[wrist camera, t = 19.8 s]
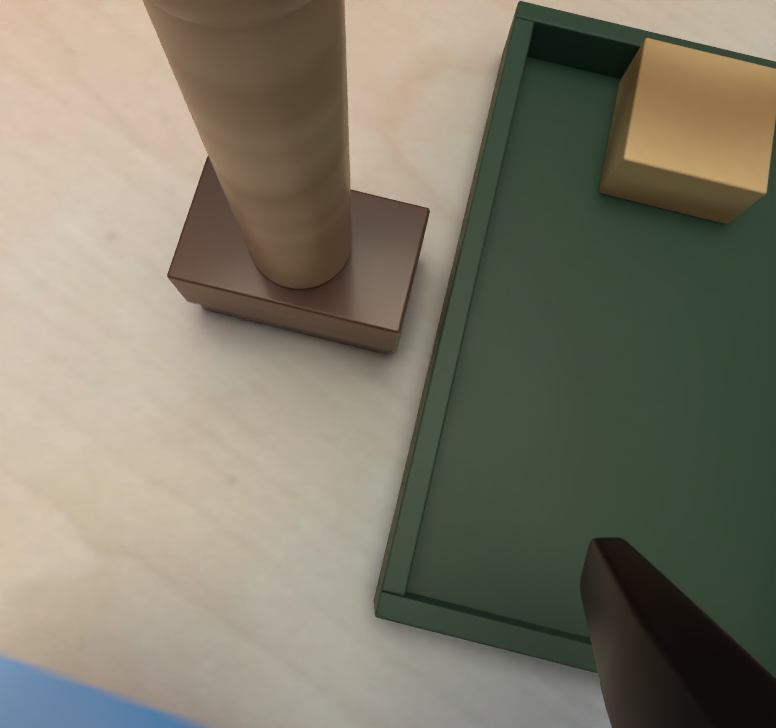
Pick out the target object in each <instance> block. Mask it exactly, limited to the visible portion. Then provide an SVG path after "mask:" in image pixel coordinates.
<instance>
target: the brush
mask: <svg viewBox="0 0 776 728" xmlns="http://www.w3.org/2000/svg"><path fill="white" fill-rule="evenodd" d="M143 2H144V5H145V7H146V9H147V12H148V14H149V16H150V19H151V21H152V24H153V26H154V28H155V31H156V33H157V35H158V38H159V40H160V42H161V45H162V47H163V49H164V52H165V54H166V57H167V59H168V61H169V64H170V66H171V68H172V71H173V73H174V75H175V78H176V80H177V82H178V85H179V87H180V90H181V92H182V94H183V97H184V99H185V101H186V104H187V106H188V108H189V111H190V113H191V115H192V118H193V120H194V123H195V125H196V127H197V130H198V132H199V134H200V137H201V139H202V141H203V144H204V146H205V148H206V151H207V153H208V157H207V159H206V162H205V165H204V168H203V171H202V174H201V177H200V180H199V183H198V186H197V189H196V192H195V195H194V198H193V201H192V203H191V206H190V209H189V212H188V215H187V218H186V221H185V224H184V227H183V230H182V233H181V236H180V239H179V242H178V245H177V248H176V251H175V254H174V257H173V259H172V262H171V265H170V268H169V271H168V274H167V277H168V278H169V280H170V281H171V282H172V283H173V284H174V286H175V287H176V288H177V289H178V291H179V292H180V293H181V294H182V296H183V297H184V298H185V299H186V300H187V301H188V302H192V303H196V304H200V305H201V306H202V307H203V309H205V310H209V311H213V312H217V313H221V314H225V315H230V316H234V317H238V318H242V319H246V320H250V321H254V322H258V323H262V324H266V325H270V326H275V327H279V328H283V329H287V330H291V331H295V332H299V333H303V334H307V335H311V336H315V337H320V338H324V339H328V340H332V341H336V342H340V343H344V344H348V345H352V346H356V347H360V348H365V349H369V350H373V351H377V352H381V353H385V354H388V353H389V351H392V352H395V351H396V349H397V345H398V341H399V337H400V332H401V328H402V324H403V320H404V316H405V312H406V308H407V304H408V300H409V296H410V292H411V288H412V284H413V280H414V276H415V272H416V268H417V263H418V259H419V255H420V251H421V247H422V243H423V239H424V235H425V230H426V226H427V221H428V217H429V213H430V210H429V209H428V208H425V207H421V206H417V205H413V204H408V203H404V202H400V201H396V200H392V199H388V198H383V197H379V196H375V195H371V194H367V193H363V192H359V191H354V190H350V160H349V129H348V98H347V66H346V35H345V3H344V0H143Z"/></svg>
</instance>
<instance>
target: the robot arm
mask: <svg viewBox="0 0 776 728" xmlns="http://www.w3.org/2000/svg"><path fill="white" fill-rule="evenodd" d="M580 592H581V598H582V603H583V607H584V612H585V616H586V621H587V626H588V630H589V635H590V639H591V644H592V649H593V653H594V658H595V662H596V667H597V671H598V676H599V681H600V685H601V690H602V694H603V698H604V702H605V706H606V710H607V713H608V716H609V720H610V723H611V726H612V728H776V677H775V676H774V675H773V674H772V673H771V672H770V671H769V670H768V669H767V668H766V667H764V666H763V665H762V664H761V663H760V662H759V661H758V660H757V659H756V658H755V657H753V656H752V655H751V654H750V653H749V652H748V651H747V650H746V649H745V648H744V647H742V646H741V645H740V644H739V643H738V642H737V641H736V640H735V639H734V638H733V637H731V636H730V635H729V634H728V633H727V632H726V631H725V630H724V629H723V628H722V627H721V626H719V625H718V624H717V623H716V622H715V621H714V620H713V619H712V618H711V617H710V616H708V615H707V614H706V613H705V612H704V611H703V610H702V609H701V608H700V607H699V606H697V605H696V604H695V603H694V602H693V601H692V600H691V599H690V598H689V597H688V596H687V595H685V594H684V593H683V592H682V591H681V590H680V589H679V588H678V587H677V586H676V585H674V584H673V583H672V582H671V581H670V580H669V579H668V578H667V577H666V576H665V575H663V574H662V573H661V572H660V571H659V570H658V569H657V568H656V567H655V566H654V565H652V564H651V563H650V562H649V561H648V560H647V559H646V558H645V557H644V556H643V555H642V554H640V553H639V552H638V551H637V550H636V549H635V548H634V547H633V546H632V545H631V544H629V543H628V542H627V541H626V540H624V539H622V538H620V537H602V538H594V539H592V540H591V541H590V543H589V546H588V550H587V554H586V558H585V562H584V566H583V570H582V574H581V578H580Z"/></svg>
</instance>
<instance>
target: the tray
mask: <svg viewBox="0 0 776 728" xmlns="http://www.w3.org/2000/svg"><path fill="white" fill-rule="evenodd" d="M646 38H650V39H654V40H658V41H662V42H667V43H671V44H675V45H679V46H683V47H687V48H691V49H696V50H700V51H704V52H708V53H712V54H716V55H720V56H725V57H729V58H733V59H737V60H741V61H745V62H749V63H754V64H758V65H762V66H766V67H770V68H774V69H776V62H775V61H770V60H766V59H762V58H758V57H754V56H749V55H745V54H741V53H737V52H733V51H728V50H724V49H720V48H716V47H712V46H707V45H703V44H699V43H695V42H691V41H686V40H682V39H678V38H674V37H670V36H665V35H661V34H657V33H653V32H649V31H644V30H640V29H636V28H632V27H628V26H623V25H619V24H615V23H611V22H607V21H602V20H598V19H594V18H590V17H586V16H581V15H577V14H573V13H569V12H565V11H560V10H556V9H552V8H548V7H544V6H539V5H535V4H531V3H527V2H523V1H519V2H518V5H517V8H516V12H515V15H514V18H513V21H512V25H511V28H510V31H509V34H508V38H507V41H506V44H505V48H504V51H503V54H502V58H501V63H500V67H499V71H498V75H497V80H496V84H495V88H494V92H493V97H492V101H491V105H490V109H489V114H488V118H487V122H486V126H485V131H484V135H483V139H482V143H481V148H480V152H479V156H478V160H477V165H476V169H475V173H474V177H473V182H472V186H471V190H470V194H469V199H468V203H467V207H466V211H465V216H464V220H463V224H462V228H461V233H460V237H459V241H458V245H457V249H456V254H455V258H454V262H453V266H452V271H451V275H450V279H449V283H448V288H447V292H446V296H445V300H444V305H443V309H442V313H441V317H440V322H439V326H438V330H437V334H436V339H435V343H434V347H433V351H432V356H431V360H430V364H429V368H428V373H427V377H426V381H425V385H424V390H423V394H422V398H421V402H420V407H419V411H418V415H417V419H416V424H415V428H414V432H413V436H412V440H411V445H410V449H409V453H408V457H407V462H406V466H405V470H404V474H403V479H402V483H401V487H400V491H399V496H398V500H397V504H396V508H395V513H394V517H393V521H392V525H391V530H390V534H389V538H388V542H387V547H386V551H385V555H384V559H383V564H382V568H381V572H380V576H379V581H378V585H377V589H376V593H375V598H374V611H375V616H376V617H377V618H381V619H385V620H389V621H393V622H397V623H401V624H405V625H409V626H413V627H417V628H421V629H425V630H429V631H433V632H437V633H441V634H445V635H449V636H453V637H457V638H460V639H464V640H468V641H472V642H476V643H480V644H484V645H488V646H492V647H496V648H500V649H504V650H508V651H512V652H516V653H520V654H524V655H528V656H532V657H536V658H540V659H543V660H547V661H551V662H555V663H559V664H563V665H567V666H571V667H575V668H579V669H583V670H587V671H591V672H595V673H598V671H597V667H596V662H595V658H594V653H593V649H592V644H591V639H590V635H589V630H588V626H587V621H586V616H585V612H584V607H583V603H582V598H581V592H580V578H581V574H582V570H583V566H584V562H585V558H586V554H587V550H588V546H589V543H590V541H591V540H592V539H594V538H602V537H620V538H622V539H624V540H626V541H627V542H628V543H629V544H631V545H632V546H633V547H634V548H635V549H636V550H637V551H638V552H639V553H640V554H642V555H643V556H644V557H645V558H646V559H647V560H648V561H649V562H650V563H651V564H652V565H654V566H655V567H656V568H657V569H658V570H659V571H660V572H661V573H662V574H663V575H665V576H666V577H667V578H668V579H669V580H670V581H671V582H672V583H673V584H674V585H676V586H677V587H678V588H679V589H680V590H681V591H682V592H683V593H684V594H685V595H687V596H688V597H689V598H690V599H691V600H692V601H693V602H694V603H695V604H696V605H697V606H699V607H700V608H701V609H702V610H703V611H704V612H705V613H706V614H707V615H708V616H710V617H711V618H712V619H713V620H714V621H715V622H716V623H717V624H718V625H719V626H721V627H722V628H723V629H724V630H725V631H726V632H727V633H728V634H729V635H730V636H731V637H733V638H734V639H735V640H736V641H737V642H738V643H739V644H740V645H741V646H742V647H744V648H745V649H746V650H747V651H748V652H749V653H750V654H751V655H752V656H753V657H755V658H756V659H757V660H758V661H759V662H760V663H761V664H762V665H763V666H764V667H766V668H767V669H768V670H769V671H770V672H771V673H772V674H773V675H774V676H775V677H776V121H775V129H774V137H773V145H772V153H771V161H770V169H769V177H768V185H767V192H766V194H765V195H764V196H763V197H761V198H760V199H759V200H757V201H756V202H755V203H754V204H752V205H751V206H750V207H749V208H747V209H746V210H745V211H744V212H742V213H741V214H740V215H739V216H737V217H736V218H735V219H734V220H732V221H731V222H730V223H728V224H724V223H720V222H716V221H712V220H707V219H703V218H699V217H695V216H691V215H687V214H683V213H679V212H675V211H671V210H667V209H663V208H659V207H655V206H650V205H646V204H642V203H638V202H634V201H630V200H626V199H622V198H618V197H614V196H610V195H606V194H602V193H599V187H600V182H601V177H602V172H603V166H604V161H605V156H606V151H607V145H608V140H609V135H610V129H611V124H612V119H613V114H614V108H615V103H616V98H617V93H618V87H619V82H620V80H621V78H622V77H623V75H624V73H625V72H626V70H627V68H628V67H629V65H630V63H631V62H632V60H633V58H634V57H635V55H636V53H637V52H638V50H639V48H640V47H641V45H642V43H643V42H644V40H645V39H646Z"/></svg>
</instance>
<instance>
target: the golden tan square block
mask: <svg viewBox="0 0 776 728" xmlns="http://www.w3.org/2000/svg"><path fill="white" fill-rule="evenodd" d="M775 121H776V69H774V68H770V67H766V66H762V65H758V64H754V63H749V62H745V61H741V60H737V59H733V58H729V57H725V56H720V55H716V54H712V53H708V52H704V51H700V50H696V49H691V48H687V47H683V46H679V45H675V44H671V43H667V42H662V41H658V40H654V39H650V38H646V39H645V40H644V42H643V43H642V45H641V47H640V48H639V50H638V52H637V53H636V55H635V57H634V58H633V60H632V62H631V63H630V65H629V67H628V68H627V70H626V72H625V73H624V75H623V77H622V78H621V80H620V82H619V87H618V93H617V98H616V103H615V108H614V114H613V119H612V124H611V129H610V135H609V140H608V145H607V151H606V156H605V161H604V166H603V172H602V177H601V182H600V187H599V193H602V194H606V195H610V196H614V197H618V198H622V199H626V200H630V201H634V202H638V203H642V204H646V205H650V206H655V207H659V208H663V209H667V210H671V211H675V212H679V213H683V214H687V215H691V216H695V217H699V218H703V219H707V220H712V221H716V222H720V223H724V224H728V223H730V222H731V221H732V220H734V219H735V218H736V217H737V216H739V215H740V214H741V213H742V212H744V211H745V210H746V209H747V208H749V207H750V206H751V205H752V204H754V203H755V202H756V201H757V200H759V199H760V198H761V197H763V196H764V195H765V194H766V192H767V185H768V177H769V169H770V161H771V153H772V145H773V137H774V129H775Z"/></svg>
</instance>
